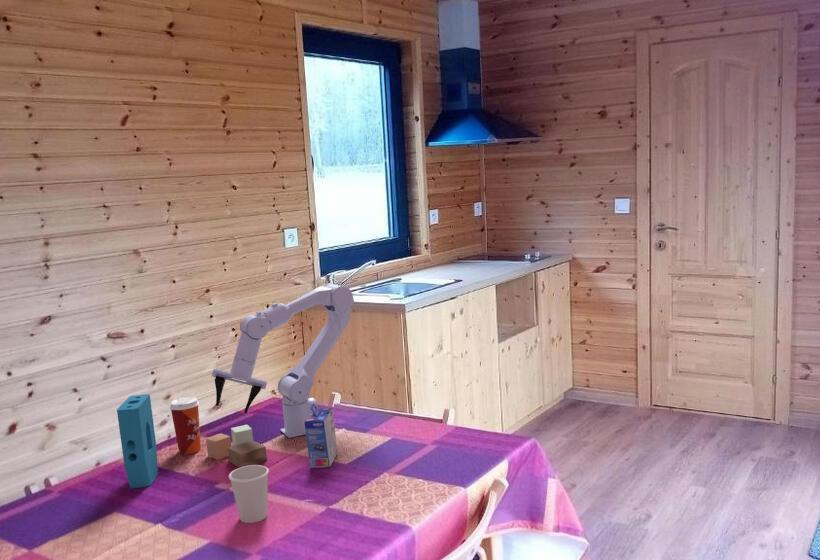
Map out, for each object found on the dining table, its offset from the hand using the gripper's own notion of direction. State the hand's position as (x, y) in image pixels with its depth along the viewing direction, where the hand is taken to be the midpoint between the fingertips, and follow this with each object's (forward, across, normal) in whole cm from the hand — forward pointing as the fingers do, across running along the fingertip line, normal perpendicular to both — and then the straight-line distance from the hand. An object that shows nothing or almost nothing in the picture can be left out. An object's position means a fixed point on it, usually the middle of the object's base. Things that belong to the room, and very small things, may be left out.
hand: (231, 409), depth 206 cm
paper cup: (+14, -8, +4) cm, 17 cm away
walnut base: (+10, +8, -10) cm, 16 cm away
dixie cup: (+14, +13, -43) cm, 47 cm away
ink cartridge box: (+5, +26, -16) cm, 31 cm away
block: (+20, -15, -14) cm, 28 cm away
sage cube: (+9, +6, +2) cm, 11 cm away
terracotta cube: (+12, +1, -3) cm, 12 cm away
